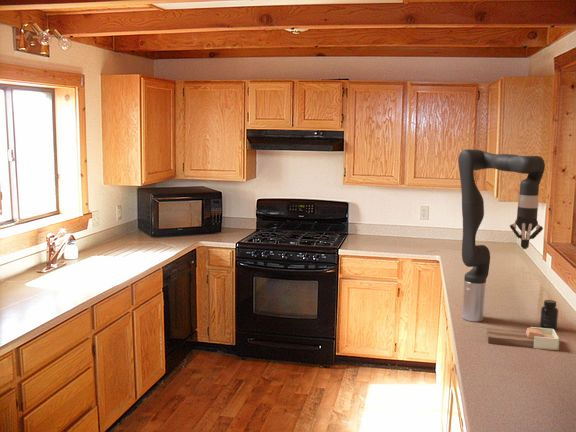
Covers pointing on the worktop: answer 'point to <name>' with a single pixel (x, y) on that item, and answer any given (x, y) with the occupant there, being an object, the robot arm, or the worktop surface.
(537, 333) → the tile
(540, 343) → the tray
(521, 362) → the worktop surface
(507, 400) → the worktop surface
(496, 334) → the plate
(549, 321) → the supplement bottle
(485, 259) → the robot arm
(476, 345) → the worktop surface
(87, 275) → the worktop surface
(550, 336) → the tile
